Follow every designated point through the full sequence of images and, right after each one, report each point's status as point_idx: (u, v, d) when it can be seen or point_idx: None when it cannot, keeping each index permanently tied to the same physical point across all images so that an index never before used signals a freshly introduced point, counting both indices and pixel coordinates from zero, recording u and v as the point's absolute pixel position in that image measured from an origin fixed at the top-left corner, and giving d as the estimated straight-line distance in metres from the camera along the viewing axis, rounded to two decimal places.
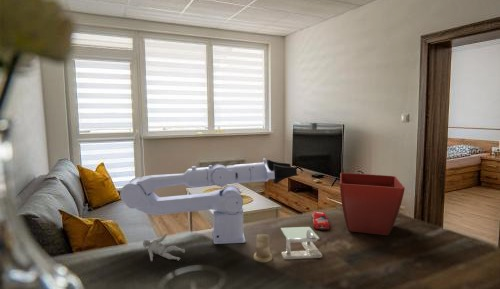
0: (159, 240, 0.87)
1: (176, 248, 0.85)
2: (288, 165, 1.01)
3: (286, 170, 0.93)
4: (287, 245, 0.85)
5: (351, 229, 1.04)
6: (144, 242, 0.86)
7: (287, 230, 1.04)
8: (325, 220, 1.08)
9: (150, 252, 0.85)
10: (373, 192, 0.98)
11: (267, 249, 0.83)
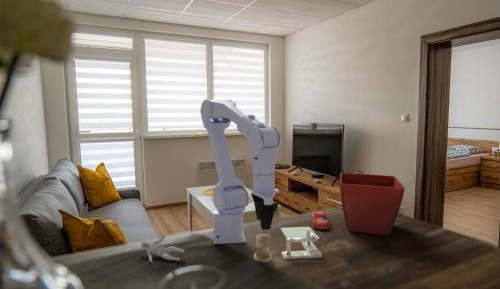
0: (158, 241, 0.87)
1: (175, 249, 0.84)
2: None
3: (268, 217, 0.80)
4: (287, 245, 0.85)
5: (351, 229, 1.04)
6: (142, 243, 0.86)
7: (287, 230, 1.04)
8: (325, 220, 1.08)
9: (149, 253, 0.84)
10: (373, 192, 0.98)
11: (267, 249, 0.83)
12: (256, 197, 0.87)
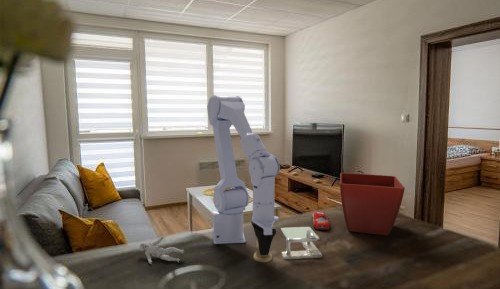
0: (156, 242, 0.86)
1: (175, 249, 0.84)
2: None
3: (266, 243, 0.82)
4: (287, 245, 0.85)
5: (351, 229, 1.04)
6: (141, 245, 0.85)
7: (287, 230, 1.04)
8: (325, 220, 1.08)
9: (148, 255, 0.84)
10: (373, 192, 0.98)
11: None
12: (257, 226, 0.86)
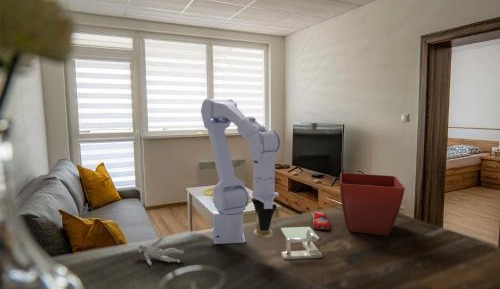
0: (155, 243, 0.85)
1: (174, 250, 0.83)
2: None
3: (267, 219, 0.81)
4: (287, 245, 0.85)
5: (351, 229, 1.04)
6: (139, 246, 0.84)
7: (287, 230, 1.04)
8: (325, 220, 1.08)
9: (147, 256, 0.83)
10: (373, 192, 0.98)
11: None
12: (257, 202, 0.85)
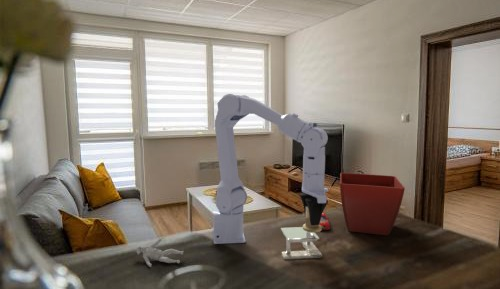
0: (154, 245, 0.84)
1: (174, 251, 0.83)
2: None
3: (317, 213, 0.83)
4: (287, 245, 0.85)
5: (351, 229, 1.04)
6: (138, 248, 0.83)
7: (287, 230, 1.04)
8: (325, 220, 1.08)
9: (146, 258, 0.82)
10: (373, 192, 0.98)
11: None
12: (305, 197, 0.87)
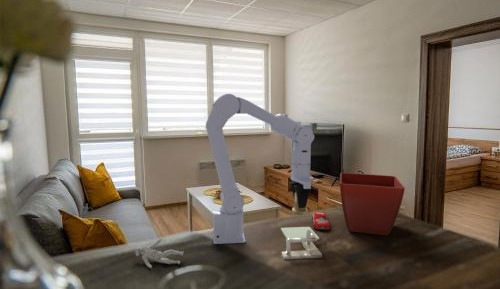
0: (153, 246, 0.83)
1: (174, 252, 0.82)
2: None
3: (304, 198, 0.98)
4: (287, 245, 0.85)
5: (351, 229, 1.04)
6: (137, 250, 0.82)
7: (287, 230, 1.04)
8: (325, 220, 1.08)
9: (145, 259, 0.81)
10: (373, 192, 0.98)
11: None
12: (294, 185, 1.02)
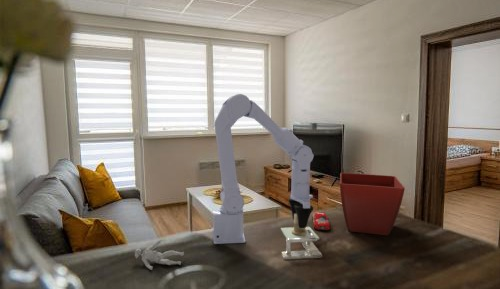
0: (152, 247, 0.83)
1: (174, 253, 0.82)
2: None
3: (305, 218, 0.98)
4: (287, 245, 0.85)
5: (351, 229, 1.04)
6: (137, 251, 0.81)
7: (287, 230, 1.04)
8: (326, 221, 1.08)
9: (145, 261, 0.80)
10: (373, 192, 0.98)
11: None
12: (293, 202, 1.04)
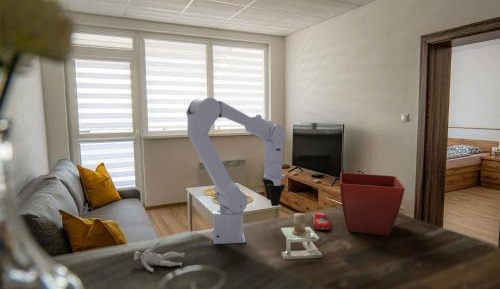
0: (152, 249, 0.82)
1: (174, 254, 0.81)
2: None
3: (277, 196, 1.00)
4: (287, 245, 0.85)
5: (351, 229, 1.04)
6: (136, 254, 0.79)
7: (287, 230, 1.04)
8: (326, 221, 1.07)
9: (145, 263, 0.79)
10: (373, 192, 0.98)
11: (303, 225, 1.00)
12: (266, 181, 1.08)
